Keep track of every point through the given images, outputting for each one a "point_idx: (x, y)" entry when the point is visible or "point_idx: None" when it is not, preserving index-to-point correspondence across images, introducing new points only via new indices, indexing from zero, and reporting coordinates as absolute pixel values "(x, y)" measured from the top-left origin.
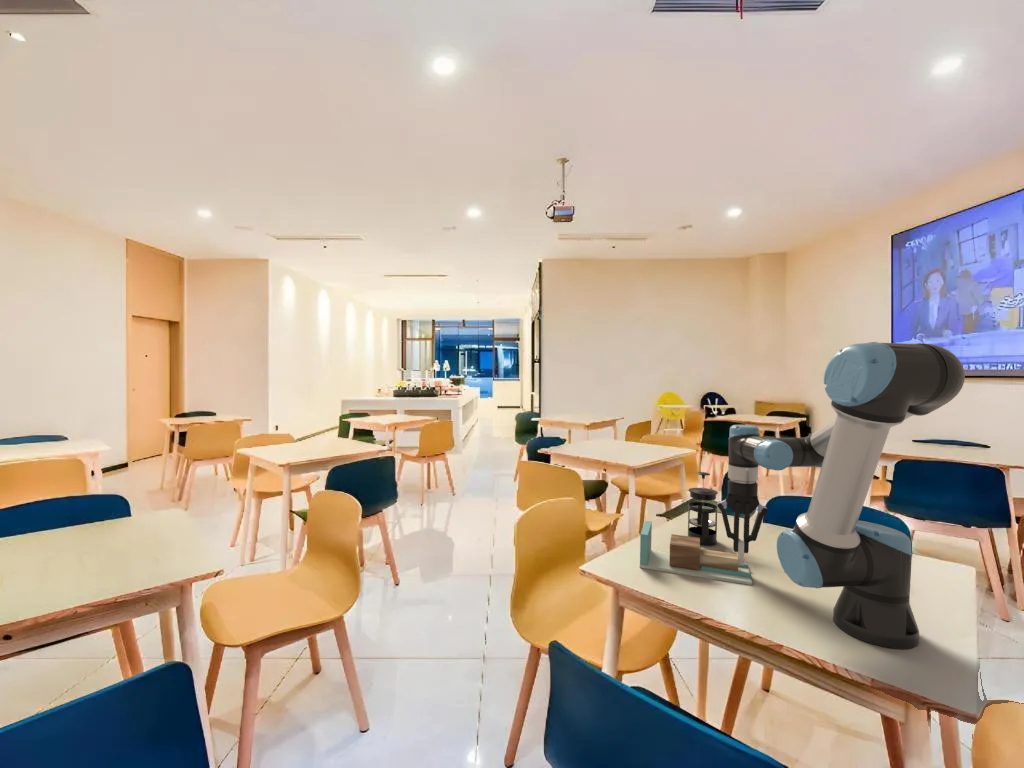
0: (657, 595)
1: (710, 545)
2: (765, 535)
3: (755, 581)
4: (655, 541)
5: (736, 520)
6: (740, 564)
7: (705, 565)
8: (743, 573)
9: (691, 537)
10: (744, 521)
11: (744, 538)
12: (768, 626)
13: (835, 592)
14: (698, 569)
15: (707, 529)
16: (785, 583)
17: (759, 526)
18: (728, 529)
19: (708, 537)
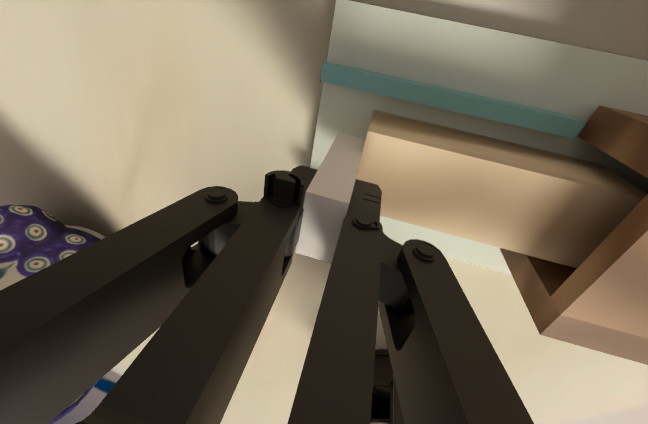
0: None
1: (379, 350)
2: None
3: (307, 60)
4: (576, 387)
5: (336, 418)
6: (353, 137)
7: (536, 153)
8: (358, 72)
9: (601, 340)
10: (215, 380)
11: (294, 214)
12: None
13: (16, 10)
14: (606, 107)
15: (398, 409)
16: (186, 66)
17: (55, 270)
18: (442, 306)
19: (385, 378)
